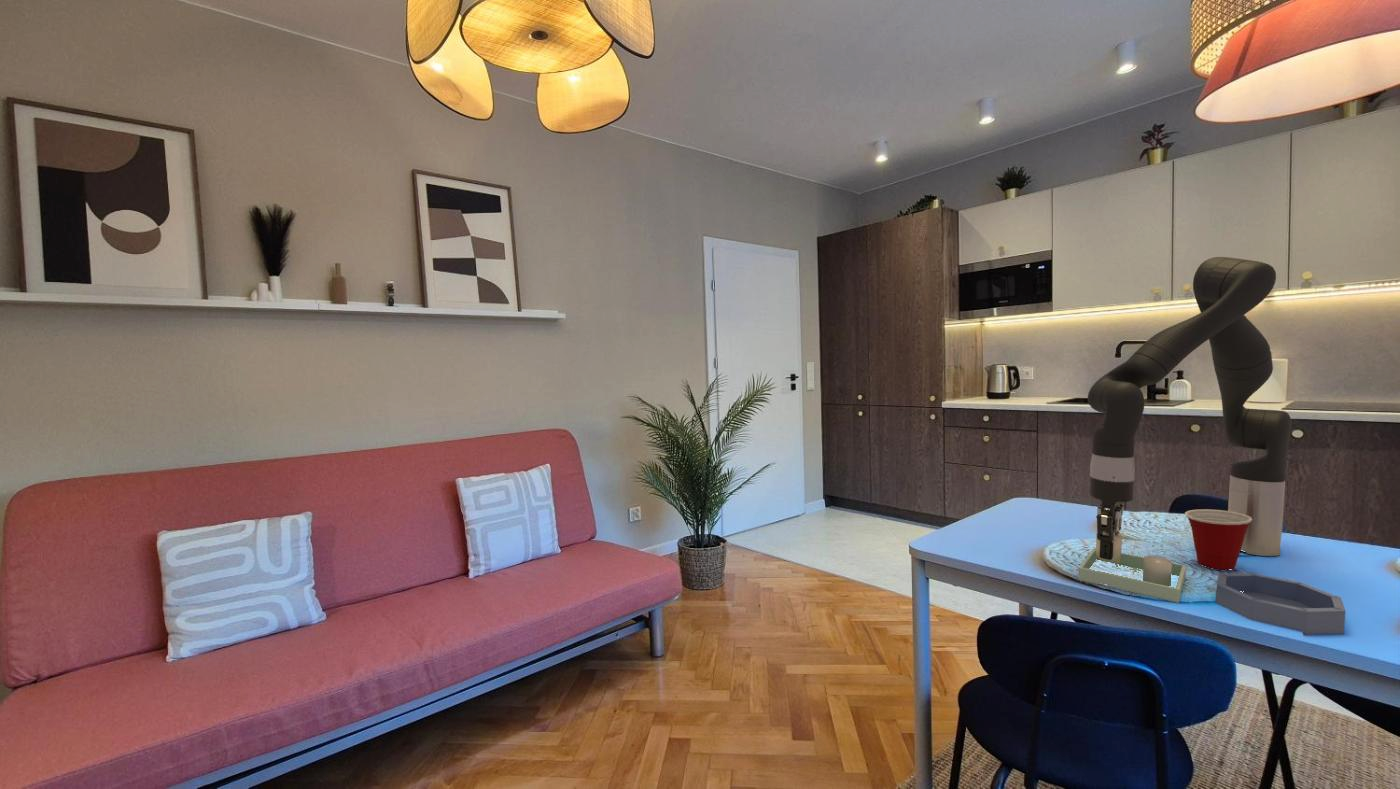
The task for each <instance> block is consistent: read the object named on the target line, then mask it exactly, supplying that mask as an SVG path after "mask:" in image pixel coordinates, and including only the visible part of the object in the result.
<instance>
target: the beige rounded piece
mask: <svg viewBox="0 0 1400 789" xmlns="http://www.w3.org/2000/svg"><path fill="white" fill-rule="evenodd" d="M1143 557H1144V568H1143V581H1146V582H1151V583H1155V584H1160V585H1164V586H1171V570H1172V563H1173V562H1172V560H1170V559H1169V558H1166V557H1162V556H1156V555H1145V556H1143Z"/></svg>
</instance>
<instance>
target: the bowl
mask: <svg viewBox="0 0 1400 789" xmlns="http://www.w3.org/2000/svg"><path fill="white" fill-rule="evenodd" d="M1240 591H1242V592H1243V591H1244V592H1243V593H1242V592H1240ZM1343 602H1344V601H1343V599H1342V597H1339V596H1337V595H1334V594H1331V593H1329V592H1327V591H1324V590H1322V589H1319V588H1316V587H1313V586H1310V585H1309V584H1306V583H1303V582H1301V581H1295V580H1290V579H1289V580H1288V579H1284V578H1280V577H1274V576H1271V575H1270V576H1269V575H1264V574H1258V573H1253V572H1250V573H1249V572H1246V573H1245V572H1244V573H1242V572H1241V573H1236V572H1235V573H1218V574H1217V582H1216V591H1215V604H1217V605H1220V606H1221V607H1224V608H1225V609H1228V610H1229V611H1231V612H1234V613H1236V614H1238V615H1240V616H1242V617H1245V618H1246V619H1248V620H1251V621H1255V622H1259V623H1263V624H1268V625H1272V626H1276V627H1281V628H1286V629H1290V630H1294V631H1299V632H1302V635H1305V636H1306V635H1307V636H1312V635H1315V636H1316V635H1317V636H1318V635H1344V633H1345V623H1346V612H1347V610H1346V607H1345V605H1344V603H1343Z"/></svg>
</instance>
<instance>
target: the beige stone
mask: <svg viewBox="0 0 1400 789" xmlns="http://www.w3.org/2000/svg"><path fill="white" fill-rule="evenodd" d="M1103 535H1108V536H1109V533H1106V532H1104V531H1103ZM1095 537H1096V540H1095V542H1096V543H1095V548H1096V558H1097V559H1099V560H1102V561H1105V562H1111V563H1118V562H1121V553H1122V549H1123V548H1122V546H1123V536H1121V535H1120V534H1119V535H1117V534H1115V536H1114V539H1115V541H1114V544H1113V558H1112V560H1108V559H1103V558H1100V540H1098V539H1097V533H1096V536H1095Z"/></svg>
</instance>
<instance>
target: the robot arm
mask: <svg viewBox="0 0 1400 789" xmlns="http://www.w3.org/2000/svg"><path fill="white" fill-rule="evenodd" d="M1276 281H1277V272H1276V270H1275V269H1274V267H1273V266H1272V265H1271V264H1270V263H1266V262H1262V261H1258V260H1251V259H1244V258H1236V257H1229V256H1227V257H1226V256H1215V257H1210V258H1208V259H1206V260H1204V261H1203V262H1201V263H1200V264H1199V266H1198V268H1197V269H1196V271H1195V273H1194V275H1193V281H1192V290H1193V295H1194V299H1195V301H1196V304H1197V307H1198V310H1199V311H1200V312H1199V313H1197V314H1196V315H1194V316H1192V317H1190V318H1187V319H1186V320H1183V321H1180V322H1178V323H1176V324H1173V325H1171V326H1169V327H1166V328H1164V329H1162V330H1161V331H1159V332H1157V333H1156V334H1154V335H1152V336H1151V337H1149V339H1147V340H1146V341H1145V342H1144V343H1143V344H1142V345H1141V346H1140V347H1139V348H1138V349H1137V350H1136V351H1135V352H1134V353H1133V354H1132V355H1131V356H1130V357H1129V358H1128V359H1127V360H1125V361H1123V363H1121V364H1119V365H1117V366H1116V367H1114V368H1113V369H1112V370H1110V371H1109V372H1107V373H1106V374H1104V375H1103V376H1101V377H1100V378H1098V379H1097V380H1096V381H1095V383H1093V384H1092V386H1091V388H1089V391H1088V394H1087V403H1088V405H1089V407H1091V408H1092V409H1093V410H1095V411H1096V412H1098V413H1102V414H1105V417H1104V421H1103V425H1100V426H1098V427H1095V429H1093V435H1092V453H1091V459H1090V468H1089V469H1090V471H1089V487H1088V488H1089V492H1088V494H1089V496H1090V497H1092V498H1093V499H1096V500H1099V501H1101V503H1100V505H1099V506H1098V507H1097V509H1096V510H1097V512H1096V513H1097V515H1096V516H1095V517H1096V528H1097V529H1096V534H1097V539H1098V540H1100V558H1103V559H1108V560H1112V558H1113V544H1114V541H1115V539H1114V536H1115V534H1117V535H1119V536H1120V531H1121V530H1122V524H1123V513H1124V504H1123V503H1129V502H1131V501H1133V499H1134V491H1135V490H1134V489H1135V472H1136V471H1135V470H1136V468H1135V459H1134V454H1135V436H1136V433H1137V431H1138V428H1139V426H1140V423H1141V419H1142V417H1143V415H1144V409H1145V398H1144V393H1143V392H1142V390H1141V389H1142V388H1143V387H1146V386H1152V385H1155V384H1158V383H1159V382H1161V381H1162V380H1163V379H1164V378H1165V377H1167V375H1169V374H1170V373H1171V371H1173V370H1174V369H1175V368H1176V367H1177V366H1178V365H1179V364H1180V363H1182V361H1183V360H1184V359H1185V358H1186V357H1188V356H1189V355H1190V354H1191V353H1192V352H1193V351H1195V350H1197V348H1199V347H1200V346H1201V345H1203V344H1204V343H1205V342H1206V341H1209V345H1210V349H1211V356H1212V362H1213V363H1212V364H1213V367H1214V372H1215V376H1216V380H1217V384H1218V389H1219V392H1220V398H1221V405H1222V406H1221V407H1222V419H1223V420H1222V421H1223V431H1224V436H1225V439H1226V441H1227V442H1228V444H1229V445H1231V446H1235V447H1239V448H1248V449H1255V450H1256V449H1257V450H1265V451H1266V454H1265V455H1263V456H1262V457H1259V458H1255V459H1251V460H1244V461H1238V462H1236V461H1235V463H1232V464H1231V467H1230V472H1229V473H1230V474H1229V489H1228V490H1229V492H1228V505H1227V506H1228V508H1227V511H1231V512H1237V513H1241V514H1245V515H1247V516H1250V517H1251V518H1252V521H1251V522H1250V523H1249V525H1248V528H1247V531H1246V534H1245V537H1244V540H1243V544H1242V547H1241V550H1243V551H1245V552H1246V553H1245V554H1247V555H1248V554H1249V555H1254V556H1255V555H1256V556H1262V557H1278V556H1280V554H1281V547H1282V546H1281V544H1282V533H1283V522H1284V521H1283V520H1284V519H1283V518H1284V506H1285V490H1286V475H1287V465H1288V454H1289V446H1290V441H1291V436H1292V435H1291V434H1292V418H1291V416H1290V414H1289V413H1288V412H1287V411H1285V410H1278V409H1276V410H1275V409H1263V408H1262V409H1260V408H1259V409H1257V408H1247V407H1245V404H1246V402H1247V401H1248V399H1249V398H1250V397H1252V395H1254V394H1255V393H1256V392H1257V391H1258V390H1260V388H1261V387H1263V386H1264V385H1265V384H1266V383H1267V381H1268V380H1269V379H1270V378H1271V376H1272V374H1273V369H1274V365H1273V358H1272V350H1271V347H1270V344H1269V343H1268V340H1267V338H1266V337H1265V336H1264V335H1263V334H1262V332H1261V331H1260V330H1259V329H1258V328H1257V327H1256V325H1254V324H1253V323H1252V322H1251V321H1250V320H1249V318H1248V317H1246V314H1247V313H1249V312H1250V311H1251V310H1253V309H1254V308H1256V307H1257V306H1258V305H1259V304H1260V303H1262V302H1263V301H1264V300H1265V299H1266V298H1267V297H1268V295H1269V294H1270V293H1272V291H1273V289H1274V286H1275V284H1276ZM1103 532H1106V533H1109V536H1108V535H1103Z"/></svg>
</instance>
